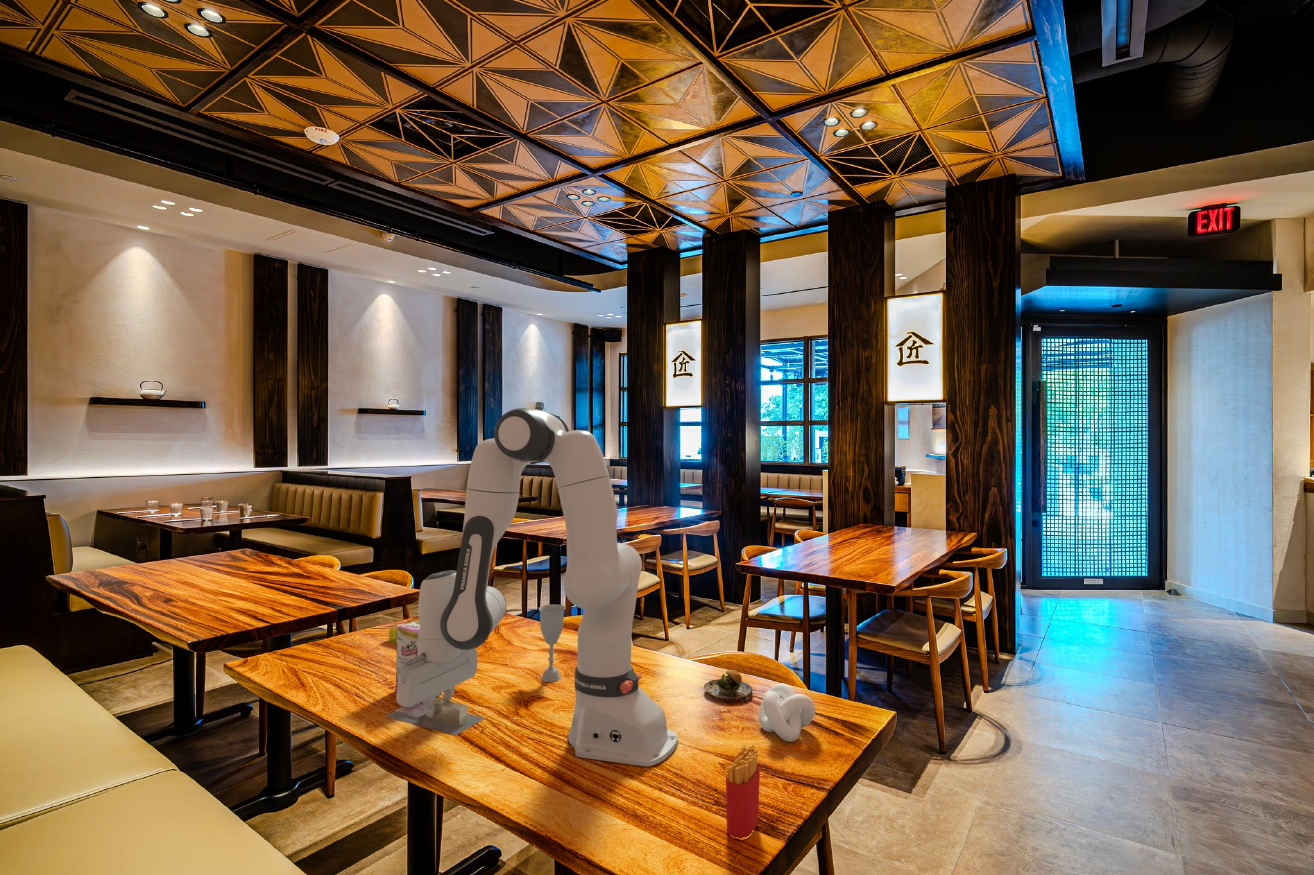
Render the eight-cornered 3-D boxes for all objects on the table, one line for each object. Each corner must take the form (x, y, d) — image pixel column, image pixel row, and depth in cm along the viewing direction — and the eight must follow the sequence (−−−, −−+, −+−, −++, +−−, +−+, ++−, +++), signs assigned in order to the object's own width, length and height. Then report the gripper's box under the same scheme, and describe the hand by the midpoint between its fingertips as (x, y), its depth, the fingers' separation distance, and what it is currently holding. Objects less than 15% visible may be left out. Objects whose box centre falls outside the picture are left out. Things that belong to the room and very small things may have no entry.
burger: (707, 683, 158) (707, 654, 158) (753, 688, 155) (754, 658, 156) (700, 702, 146) (701, 671, 146) (751, 707, 144) (751, 675, 144)
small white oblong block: (471, 719, 133) (471, 703, 133) (454, 729, 128) (455, 712, 128) (412, 704, 140) (413, 689, 140) (394, 713, 135) (395, 697, 135)
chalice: (558, 684, 155) (559, 612, 155) (532, 682, 156) (534, 610, 157) (568, 674, 162) (569, 605, 162) (543, 672, 164) (544, 603, 164)
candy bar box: (394, 695, 147) (395, 626, 147) (412, 688, 151) (413, 621, 152) (424, 706, 141) (425, 634, 141) (442, 699, 145) (443, 629, 146)
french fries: (740, 811, 102) (740, 738, 102) (763, 819, 100) (763, 744, 100) (719, 840, 95) (720, 761, 95) (744, 848, 93) (745, 767, 93)
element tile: (418, 651, 179) (418, 634, 180) (385, 642, 187) (386, 626, 187) (459, 638, 192) (459, 622, 192) (427, 630, 200) (427, 615, 200)
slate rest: (485, 722, 134) (485, 718, 134) (455, 740, 125) (455, 735, 125) (416, 705, 142) (416, 700, 142) (383, 720, 134) (384, 716, 134)
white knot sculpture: (803, 753, 122) (804, 707, 122) (746, 738, 128) (746, 694, 128) (818, 730, 132) (819, 688, 132) (764, 718, 138) (765, 677, 138)
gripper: (412, 664, 123) (411, 735, 122) (482, 636, 141) (481, 697, 141) (389, 659, 125) (388, 728, 125) (461, 632, 144) (460, 692, 144)
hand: (438, 712), depth 133 cm, fingers closed on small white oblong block, 2 cm apart
